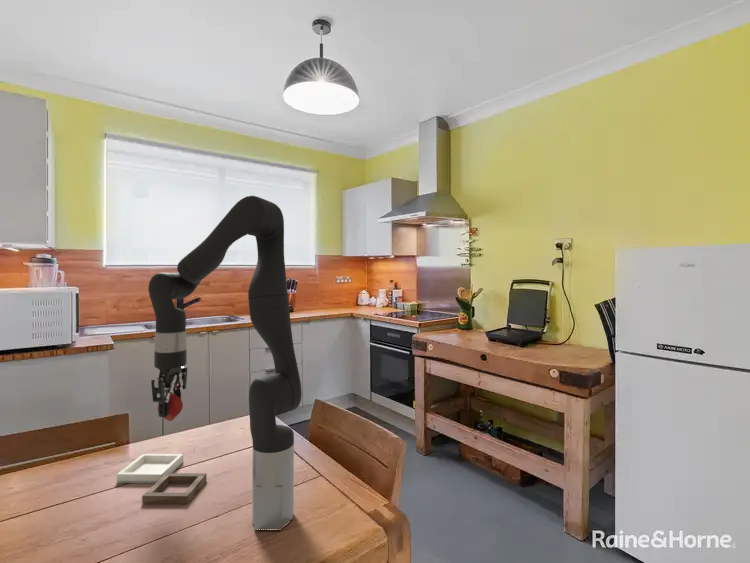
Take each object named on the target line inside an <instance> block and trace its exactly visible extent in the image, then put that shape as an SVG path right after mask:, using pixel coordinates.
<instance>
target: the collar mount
mask: <svg viewBox="0 0 750 563" xmlns="http://www.w3.org/2000/svg"><path fill="white" fill-rule="evenodd" d="M207 474H208V473H202V472H201V473H198V472H197V473H194V472H189V473H186V472H182V473H181V472H180V473H179V472H176V473H175V472H174V473H166V474H165V475H164V476H163V477H162V478H161V479H160V480H158V481H157V482H156V483H153V485H152V486H151V487H150V488H149V489H147V491H145V493H143V494H142V496H141V497H142V498H141V499H142V500H141V503H142V505H188V504H189V503H190V501H191V500H192V499H193V496H196V494H197V493H198V492H199V490H200V489H201V488H202V487H203V486H202V485H205V483H206V482H207V481H206V480H207V476H208V475H207ZM186 483H192V484H190V485H189V486H188V487H187V488H186V490H185V491H184V492H162V491H163V490H164V489H165V488H166V487H167V486H168V485H169V484H186ZM201 486H202V487H201ZM200 487H201V488H200ZM197 491H198V492H197Z"/></svg>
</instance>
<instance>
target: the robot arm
mask: <svg viewBox="0 0 750 563" xmlns="http://www.w3.org/2000/svg"><path fill="white" fill-rule="evenodd" d="M284 220H285V219H284V215H283V211H282V210H281V208H280V207H279V206H278V205H277V204H275V203H274V202H272V201H270V200H267V199H265V198H262V197H260V196H257V195H246V196H244V197H242V198H240V199H239V200H238V201H237V202H236V203H234V205H233V206H232V207H231V208H230V209H229V211H228V212H227V213H226V215H225V216H224V217H222V219H221V220H220V221H219V222H218V224H217V225H216V226H215V228H214V229H213V230H212V231H211V232H210V234H209V235H207V237H206V238H205V239H203V241H202V242H201V243H200V244H198V245H197V246H196V247H195V248H194V249H192V250H191V251H190V252H189V253H188V254H186V255H185V256H184V257H182V259H181V260H180V261H179V262H178V263H177V272H158V273H156V274H154V275H152V277H151V278H150V280H149V284H148V288H147V289H148V295H149V298H150V302H151V305H152V309H153V312H154V315H155V334H154V336H155V337H154V343H153V344H154V350H153V351H154V356H153V357H154V361H153V362H154V364H153V366H154V368H155V369H157V370H159V373H158V377H157V378H152V379H151V381H150V382H151V395H152V402H153V403H158V405H159V413H158V416H159V417H161V418H163V417H167V416H168V415H169V402H168V401H169V397H170V393H172V392H173V394H175V395H177V396H178V397H179V398H180V399H181V400H182V394H183V392H184V390H186V389H187V380H188V367H186V365H187V357H188V355H187V352H188V350H187V349H188V348H187V344H188V343H187V342H188V341H187V338H188V337H187V333H186V332H187V330H186V326H187V322H186V320H187V319H186V318H187V315H186V312H185V310H184V309H181V308H176V307H175V303H174V300H182V299H184V298H187V297H188V296H190V295H192V294H193V293H194V292H195V290H196V289H197V287H198V286H199V285H200V283H201V281H202V280H203V279H205V278H206V277H207V276H209V275H210V274H211V273H212V272H214V271H215V270H217V268H218V267H219V266H220V265H221V264H222V262H223V261H224V259H225V257H226V254H227V252H228V250H229V248H230V247H231V246H232V245H233V244H234V243H235V242H236V241H238V240H240V239H241V238H243V237H245V236H247V235H249V236H253V237H255V240H256V251H257V263H256V265H255V269H254V272H253V274H252V277H251V280H250V283H249V287H248V290H247V291H248V293H247V296H248V297H247V299H248V308H249V309H248V310H249V317H250V318H249V319H250V321H251V324H252V325H253V328H254V329H255V330H256V332H257V334H258V335H259V336H260V338H261V339H262V340H263V341H264V343H265V344H266V345H267V347H268V349H269V351H270V353H271V356H272V360H273V364H274V365H273V366H274V370H275V371H274V372H275V373H273V374H267V375H264V376H260V377H257V378H255V379H254V380H252V382H251V384H250V387H249V391H248V407H249V408H248V409H249V410H248V411H249V428H250V435H251V441H252V488H251V489H252V492H251V493H252V495H251V496H252V504H251V506H252V507H251V508H252V513H251V514H252V525H253V524H254V525H253V531H255V530H257V529H258V530H259V529H260V530H261V529H262V530H263V529H264V530H265V529H266V530H267V529H282V528H283V529H284V527H283V526H284V525H285V524H287V523H288V522H289V521H290V520H291V519H292V518H293V519H294V516H293V515H294V510H295V509H294V507H295V506H294V505H295V504H294V501H295V500H294V499H295V498H294V497H295V496H294V494H295V493H294V491H295V490H294V488H295V486H294V485H295V483H294V482H295V479H294V478H295V475H294V474H295V471H294V470H295V469H294V468H295V463H294V462H295V433H294V431H293V429H292V428H291V427H289V426H286V425H283V424H277V419H276V418H277V417H276V416H280V415H282V414H287V413H289V412H292V411H294V410H296V409H298V408H299V406H300V404H301V401H302V395H303V394H302V382H301V377H300V370H299V367H298V363H297V358H296V353H295V347H294V346H295V345H294V340H293V332H292V323H291V311H290V310H291V309H290V300H289V290H288V284H287V276H286V275H287V274H286V272H287V271H286V262H285V221H284ZM293 519H292V520H293ZM283 529H282V530H283Z"/></svg>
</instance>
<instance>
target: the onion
mask: <svg viewBox="0 0 750 563" xmlns="http://www.w3.org/2000/svg"><path fill="white" fill-rule="evenodd" d="M168 402H169V415H168V416H167V417H162V418H164V419H165V420H166V421H167V422H172V421H173V420H174V419H175V418H176V417H178V415H179V414H180V413H181V412H182V411H183V408H184V403H183V400H182V398H181V399H180V398H179V397H178V396H177V395H175V394H174V393H173V392H172V393H170V397H169V401H168ZM157 413H158V414H159V404H158V406H157Z"/></svg>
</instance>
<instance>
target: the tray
mask: <svg viewBox="0 0 750 563" xmlns="http://www.w3.org/2000/svg"><path fill="white" fill-rule="evenodd" d="M183 463H184V454H183V453H182V454H180V453H178V454H177V453H175V454H174V453H143V454H141V455H140V456H139V457H137V458H136V459H134V460H133V461H132V462H131V463H129V464H128V465H126V467H124V468H123V469H121V470H120V471H119V472H118V473H116V483H117V484H155V483H156V482H157V481H158V480H160V479H161V478H162V477H163V476H164V475H165V474H166V473H173V472H174V473H175V471H176V470H177V468H179V467H180V466H181V465H182V464H183Z"/></svg>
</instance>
